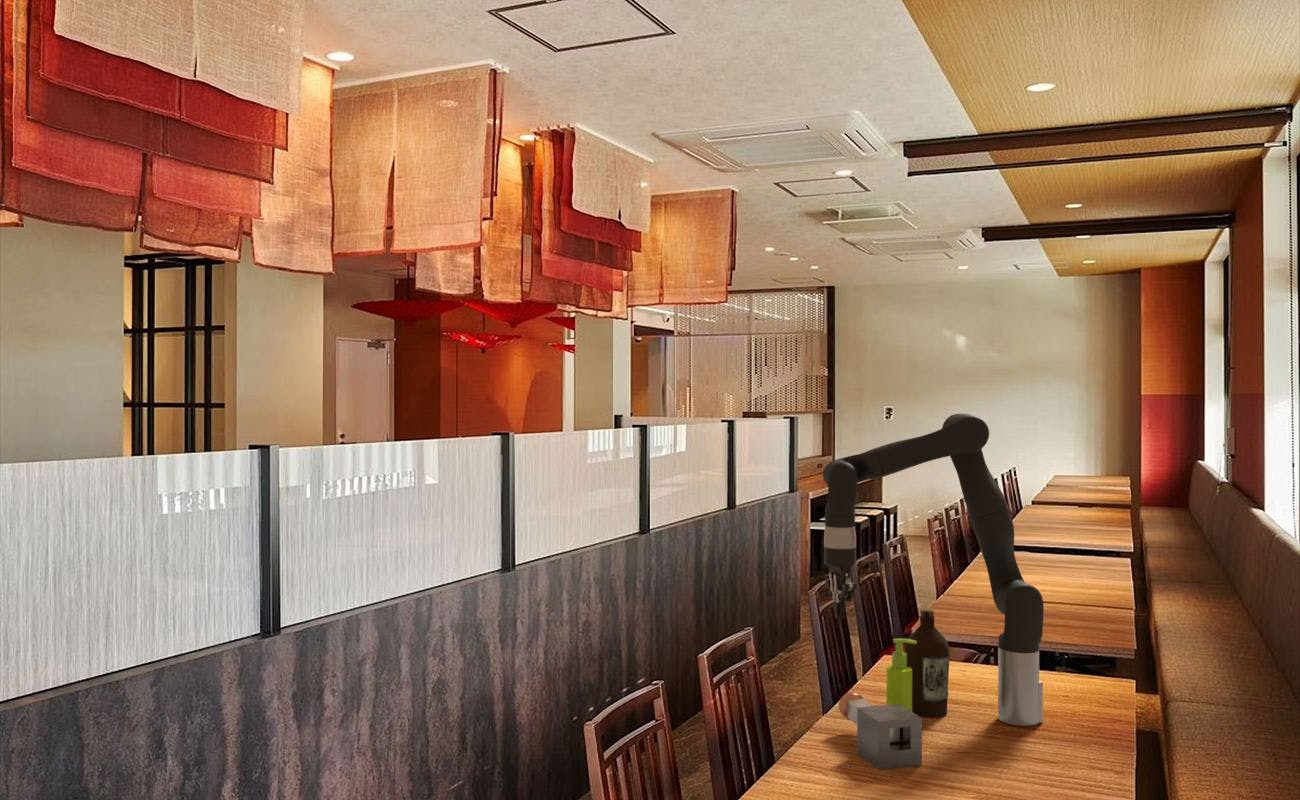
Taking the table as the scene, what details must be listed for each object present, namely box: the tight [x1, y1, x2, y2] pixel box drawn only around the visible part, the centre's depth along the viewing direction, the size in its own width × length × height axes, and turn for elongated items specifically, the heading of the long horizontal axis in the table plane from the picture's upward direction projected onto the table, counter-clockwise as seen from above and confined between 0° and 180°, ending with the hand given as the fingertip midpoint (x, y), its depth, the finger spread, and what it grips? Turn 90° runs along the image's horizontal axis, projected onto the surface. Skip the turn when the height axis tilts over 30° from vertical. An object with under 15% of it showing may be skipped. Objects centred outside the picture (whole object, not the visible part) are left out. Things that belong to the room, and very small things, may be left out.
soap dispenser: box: [886, 637, 917, 712], centre depth 246 cm, size 6×7×20 cm
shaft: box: [838, 691, 900, 742], centre depth 231 cm, size 6×20×6 cm, turn 14°
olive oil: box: [904, 609, 951, 719], centre depth 255 cm, size 11×11×25 cm
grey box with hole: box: [856, 704, 923, 771], centre depth 222 cm, size 10×10×10 cm
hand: (839, 617), depth 246 cm, fingers closed
